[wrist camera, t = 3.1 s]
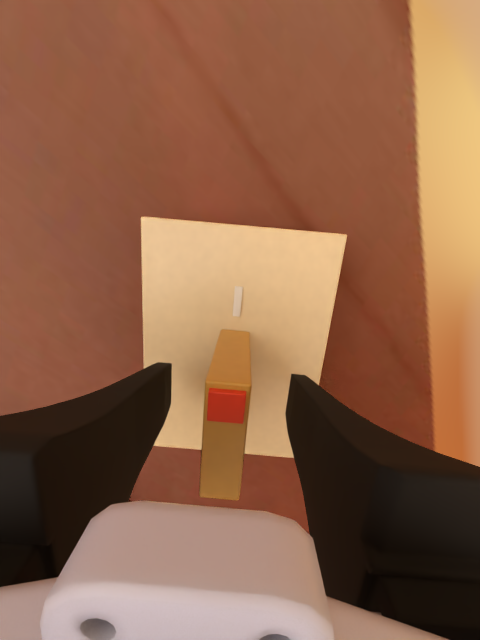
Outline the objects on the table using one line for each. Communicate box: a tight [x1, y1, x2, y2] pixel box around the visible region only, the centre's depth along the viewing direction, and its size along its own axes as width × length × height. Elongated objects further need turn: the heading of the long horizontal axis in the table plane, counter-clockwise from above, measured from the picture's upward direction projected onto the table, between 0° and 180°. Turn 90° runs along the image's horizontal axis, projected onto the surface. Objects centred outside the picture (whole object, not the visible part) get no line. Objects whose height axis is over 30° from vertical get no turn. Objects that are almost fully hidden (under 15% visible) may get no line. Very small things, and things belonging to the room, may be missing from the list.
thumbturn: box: [199, 329, 252, 500], centre depth 11 cm, size 4×1×5 cm, turn 175°
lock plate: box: [141, 216, 347, 458], centre depth 14 cm, size 12×9×3 cm
